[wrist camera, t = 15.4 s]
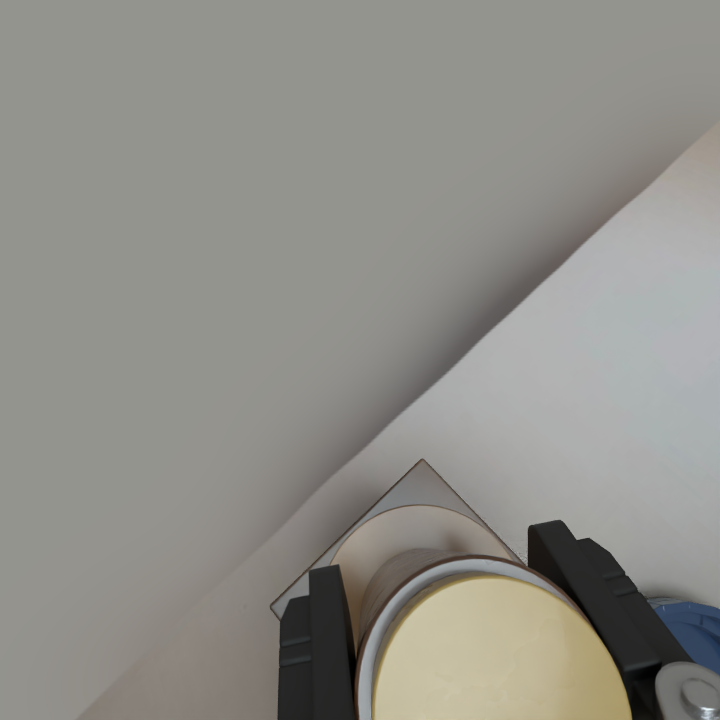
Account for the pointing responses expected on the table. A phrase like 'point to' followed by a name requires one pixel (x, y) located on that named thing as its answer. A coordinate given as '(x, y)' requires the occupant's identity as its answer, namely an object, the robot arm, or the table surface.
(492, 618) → the brown jar
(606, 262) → the table surface
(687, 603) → the blue dish
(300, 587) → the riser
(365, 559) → the coaster
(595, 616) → the robot arm
